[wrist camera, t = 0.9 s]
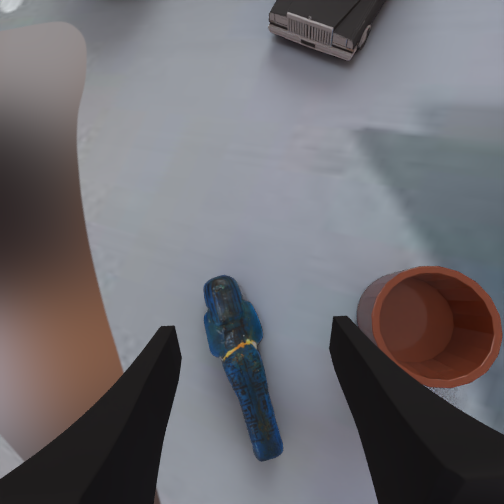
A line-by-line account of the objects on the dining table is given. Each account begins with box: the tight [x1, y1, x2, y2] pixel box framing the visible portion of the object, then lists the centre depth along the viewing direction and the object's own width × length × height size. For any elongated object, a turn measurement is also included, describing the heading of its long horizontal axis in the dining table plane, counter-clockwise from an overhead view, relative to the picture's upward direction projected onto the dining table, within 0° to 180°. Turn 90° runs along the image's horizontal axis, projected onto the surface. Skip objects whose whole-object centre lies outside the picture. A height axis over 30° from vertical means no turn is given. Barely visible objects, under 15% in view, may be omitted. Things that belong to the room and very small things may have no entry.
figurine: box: [204, 275, 283, 462], centre depth 24 cm, size 5×4×15 cm
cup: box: [357, 266, 503, 388], centre depth 21 cm, size 8×8×6 cm
